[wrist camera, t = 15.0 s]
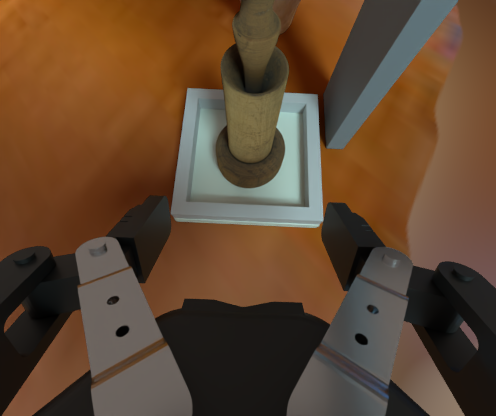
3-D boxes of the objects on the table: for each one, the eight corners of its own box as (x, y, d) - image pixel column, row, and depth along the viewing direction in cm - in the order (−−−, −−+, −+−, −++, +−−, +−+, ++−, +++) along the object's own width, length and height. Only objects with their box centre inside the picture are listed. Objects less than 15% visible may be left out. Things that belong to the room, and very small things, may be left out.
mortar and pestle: (265, 199, 23) (329, -31, 6) (205, 172, 24) (102, -106, 6) (291, 144, 25) (402, -163, 7) (235, 120, 25) (216, -211, 8)
